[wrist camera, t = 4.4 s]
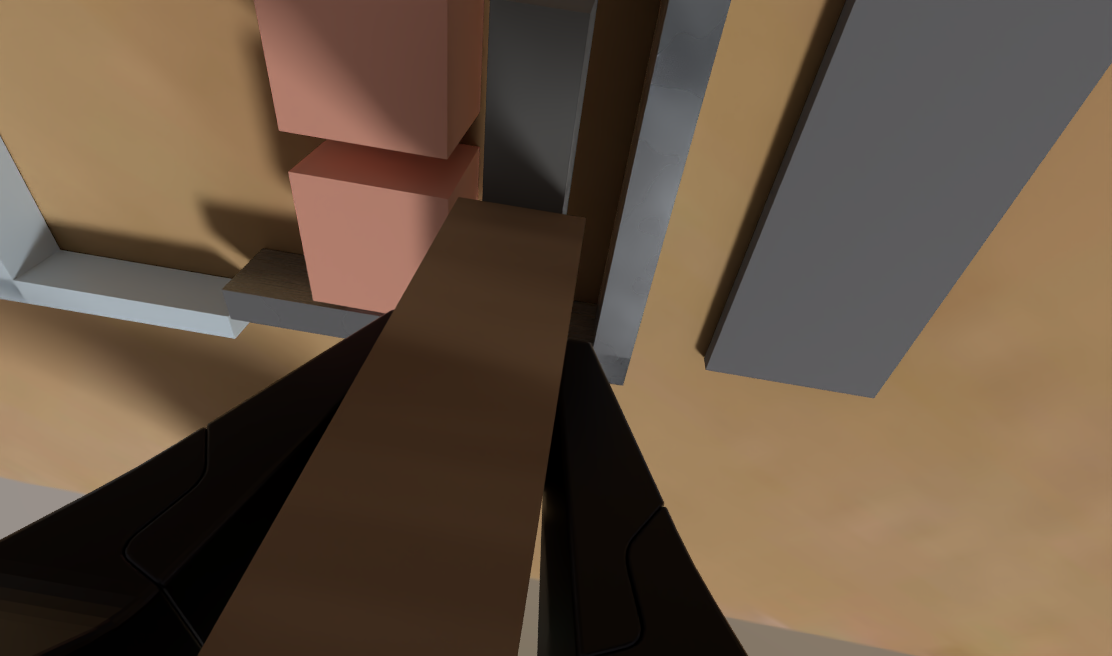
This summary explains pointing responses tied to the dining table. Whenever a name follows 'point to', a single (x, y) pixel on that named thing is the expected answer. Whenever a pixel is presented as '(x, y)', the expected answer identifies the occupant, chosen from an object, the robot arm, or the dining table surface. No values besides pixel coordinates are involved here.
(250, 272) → the slot channel
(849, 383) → the mat
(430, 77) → the dusty rose cube
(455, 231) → the t-shaped scraper
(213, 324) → the tray
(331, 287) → the salmon pink cube
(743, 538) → the dining table surface
